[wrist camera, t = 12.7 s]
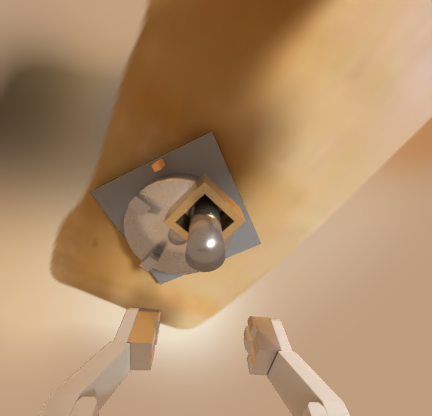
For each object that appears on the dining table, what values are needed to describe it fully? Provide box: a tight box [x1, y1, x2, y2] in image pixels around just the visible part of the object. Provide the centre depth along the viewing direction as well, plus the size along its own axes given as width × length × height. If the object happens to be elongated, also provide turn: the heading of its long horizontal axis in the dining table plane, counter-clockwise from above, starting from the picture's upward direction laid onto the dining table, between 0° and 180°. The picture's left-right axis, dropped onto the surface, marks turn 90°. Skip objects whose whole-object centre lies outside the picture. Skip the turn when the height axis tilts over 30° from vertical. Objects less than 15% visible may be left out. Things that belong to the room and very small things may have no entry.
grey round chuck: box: [124, 173, 246, 274], centre depth 24 cm, size 14×13×6 cm
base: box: [90, 131, 261, 284], centre depth 27 cm, size 17×17×4 cm
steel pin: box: [185, 196, 225, 272], centre depth 19 cm, size 3×3×9 cm
